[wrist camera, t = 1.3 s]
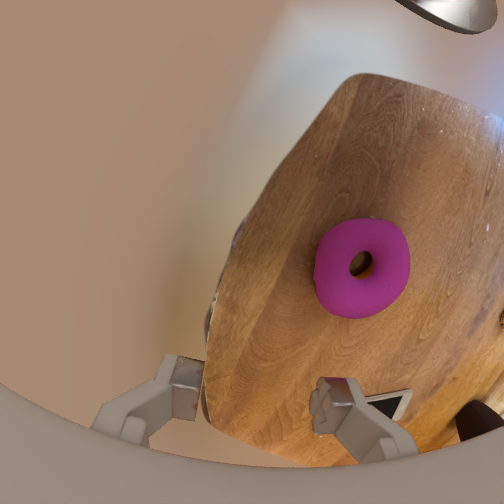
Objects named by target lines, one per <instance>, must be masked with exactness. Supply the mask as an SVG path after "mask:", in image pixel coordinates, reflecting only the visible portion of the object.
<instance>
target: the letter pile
mask: <svg viewBox="0 0 504 504" xmlns="http://www.w3.org/2000/svg"><path fill="white" fill-rule="evenodd" d="M499 322H500V323H504V313H503V315H502V317H501V319H500V321H499ZM502 328H503V329H504V324H503V326H502Z"/></svg>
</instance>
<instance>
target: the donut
mask: <svg viewBox="0 0 504 504" xmlns="http://www.w3.org/2000/svg"><path fill="white" fill-rule="evenodd" d="M362 251H368V252H369V253H370V254H371V256H372V261H371V264H370V266H369V267H368V268H367V270H365V271H364V272H363V273H361V274H359V275H357V276H352V275H351V273H350V271H349V267H350V263H351V261H352V259H353V258H354V257H355V255H357V254H358V253H360V252H362ZM409 273H410V255H409V248H408V244H407V241H406V238H405V236H404V234H403V233H402V231H401V230H400V229H399V227H398V226H396V225H395V224H394V223H392V222H390V221H386V220H381V219H353V220H349V221H344V222H341V223H339V224H337V225H335V226H334V227H333V228H332V229H331V230H329V231H328V232H327V233H325V234H324V235H323V236H322V238H321V240H320V242H319V245H318V249H317V252H316V257H315V271H314V275H313V280H314V281H315V282H316V293H317V296H318V299H319V302H320V304H321V305H322V306H323V308H325V309H326V310H327V311H328V312H330V313H331V314H333V315H337V316H341V317H344V318H349V319H359V318H365V317H369V316H371V315H374V314H376V313H378V312H380V311H382V310H384V309H385V308H387V307H388V306H389V305H390V304H392V303H393V302H394V301H395V300H396V299H397V298H398V297H399V295H400V294H401V293H402V291H403V290H404V288H405V286H406V284H407V281H408V278H409Z"/></svg>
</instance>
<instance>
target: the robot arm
mask: <svg viewBox="0 0 504 504" xmlns="http://www.w3.org/2000/svg"><path fill="white" fill-rule="evenodd" d="M204 364H205V361H201V360H196V359H191V358H187V357H183V356H178V355H174V354H170V353H165V354H164V356H163V358H162V360H161V363H160V365H159V368H158V370H157V373H156V376H155V378H154V380H148V381H146V382H144V383H142V384H141V385H139V386H137V387H135V388H133V389H131V390H129V391H127V392H126V393H124V394H122V395H120V396H118V397H116V398H114V399H112V400H110V401H108V402H106V403H104V404H103V405H102V406H101V408H100V410H99V412H98V414H97V416H96V418H95V420H94V422H93V424H92V426H91V427H90V429H89V428H87V427H84V426H82V425H79V424H77V423H75V422H72V421H70V420H68V419H66V418H63V417H61V416H59V415H57V414H55V413H53V412H51V411H49V410H47V409H45V408H43V407H41V406H39V405H37V404H35V403H33V402H32V401H30V400H28V399H26V398H24V397H23V396H21V395H19V394H17V393H16V392H14V391H12V390H11V389H9V388H8V387H6V386H4V385H3V384H1V383H0V504H504V426H502V427H499V428H497V429H495V430H492V431H490V432H487V433H485V434H482V435H480V436H477V437H474V438H472V439H469V440H466V441H463V442H460V443H457V444H454V445H450V446H447V447H444V448H440V449H437V450H433V451H429V452H425V453H421V454H420V452H419V450H418V448H417V446H416V444H415V442H414V440H413V438H412V436H411V434H410V433H409V432H408V431H406V430H405V429H403V428H402V427H401V426H399V425H398V424H397V423H395V422H394V421H392V420H391V419H390V418H388V417H387V416H386V415H384V414H383V413H382V412H380V411H379V410H378V409H376V408H375V407H374V406H372V405H368V404H367V401H366V399H365V397H364V394H363V392H362V390H361V387H360V385H359V383H358V381H357V379H356V378H337V377H320V378H319V379H318V381H317V383H316V385H317V389H315V390H314V391H312V394H311V396H310V399H309V412H310V414H311V415H312V416H314V418H313V419H312V426H313V431H314V434H334V436H335V437H336V438H337V439H338V440H339V441H340V443H341V444H342V445H343V446H344V447H345V448H346V449H347V450H348V451H349V452H350V453H351V455H352V456H353V457H354V458H355V459H356V460H357V461H358V462H359V464H357V465H347V466H334V467H314V468H279V467H260V466H259V467H258V466H246V465H237V464H227V463H220V462H213V461H206V460H201V459H195V458H189V457H184V456H180V455H175V454H170V453H166V452H162V451H158V450H154V449H150V447H149V437H150V436H151V435H152V434H154V433H155V432H156V431H157V430H159V429H160V428H161V427H162V426H163V425H165V424H166V423H167V422H168V421H169V420H171V419H172V418H178V419H183V420H189V421H195V417H196V412H197V407H198V400H199V396H200V390H201V384H202V378H203V377H202V376H203V371H204Z"/></svg>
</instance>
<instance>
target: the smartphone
mask: <svg viewBox="0 0 504 504" xmlns="http://www.w3.org/2000/svg"><path fill="white" fill-rule="evenodd" d="M413 393H414V392H413V391H412V389H407V390H402V391H398V392H393V393H388V394H383V395H377V396H371V397H365V399H366V401H367V404H368V405H372V406H374V407H375V408H376V409H378V410H379V411H380V412H382V413H383V414H384V415H386V416H387V417H388V418H390V419H391V420H392V421H396V420H399V419H401V417H402V415H403V413H404V411H405V409H406V407H407V405H408V403H409V401H410V399H411V397H412V395H413ZM313 432H314V431H313Z"/></svg>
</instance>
